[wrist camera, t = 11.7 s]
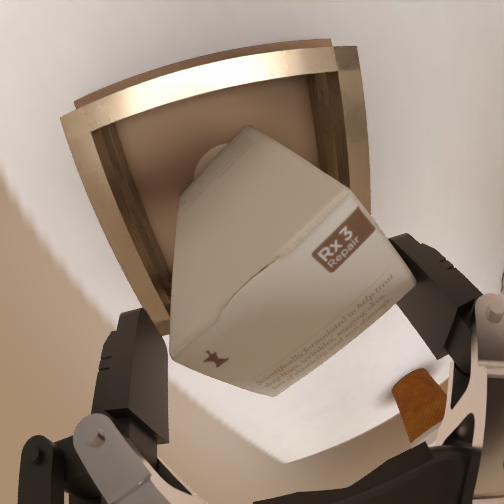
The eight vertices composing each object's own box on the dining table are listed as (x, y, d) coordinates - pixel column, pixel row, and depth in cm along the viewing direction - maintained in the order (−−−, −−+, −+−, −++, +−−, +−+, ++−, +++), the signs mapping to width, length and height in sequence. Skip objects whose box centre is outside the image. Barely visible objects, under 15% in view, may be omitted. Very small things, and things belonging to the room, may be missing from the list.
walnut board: (348, 246, 22) (351, 249, 22) (157, 299, 22) (156, 304, 21) (327, 39, 14) (330, 38, 14) (76, 100, 13) (73, 101, 13)
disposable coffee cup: (442, 357, 38) (479, 412, 28) (412, 393, 43) (440, 445, 33) (404, 365, 36) (443, 432, 26) (372, 403, 40) (401, 464, 30)
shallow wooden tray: (341, 243, 21) (368, 277, 18) (162, 293, 21) (159, 336, 17) (320, 51, 14) (356, 46, 10) (89, 108, 13) (59, 117, 10)
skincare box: (229, 235, 19) (275, 408, 9) (174, 194, 17) (159, 367, 7) (298, 166, 18) (426, 292, 8) (246, 115, 15) (352, 188, 5)
